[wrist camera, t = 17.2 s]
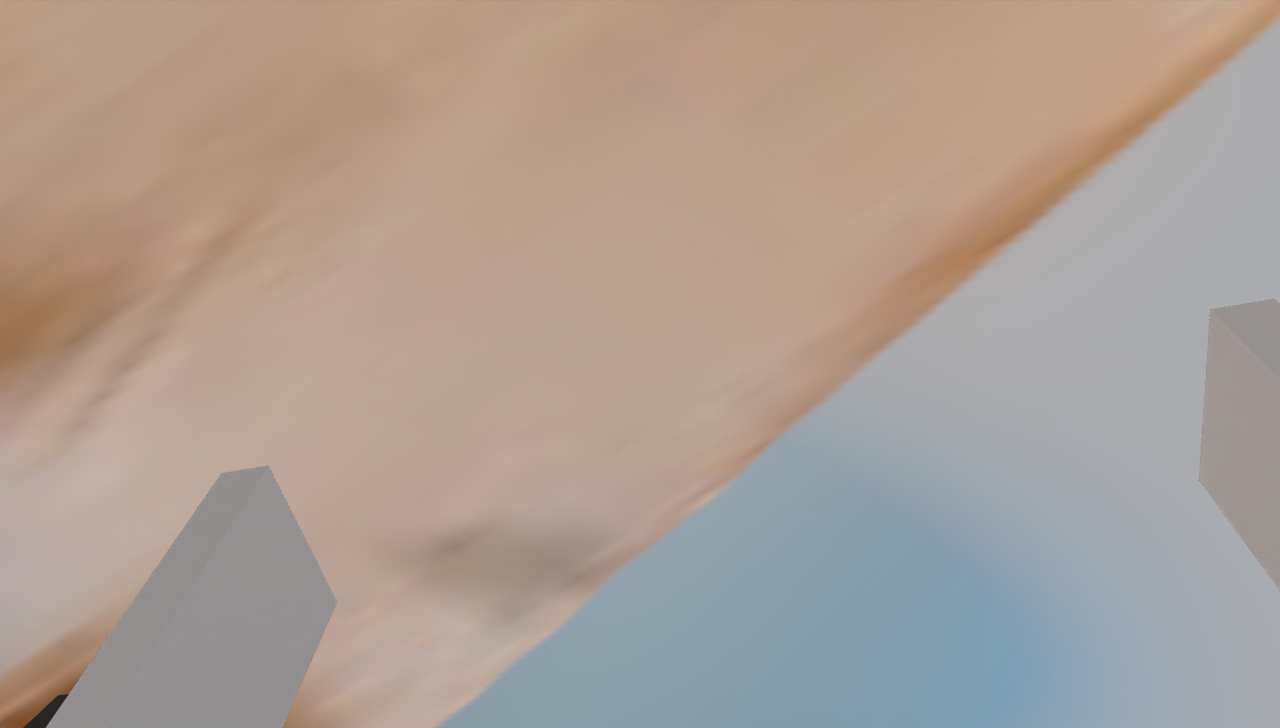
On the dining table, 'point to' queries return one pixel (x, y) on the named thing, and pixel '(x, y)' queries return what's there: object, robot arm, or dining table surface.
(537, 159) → the dining table surface
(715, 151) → the dining table surface
